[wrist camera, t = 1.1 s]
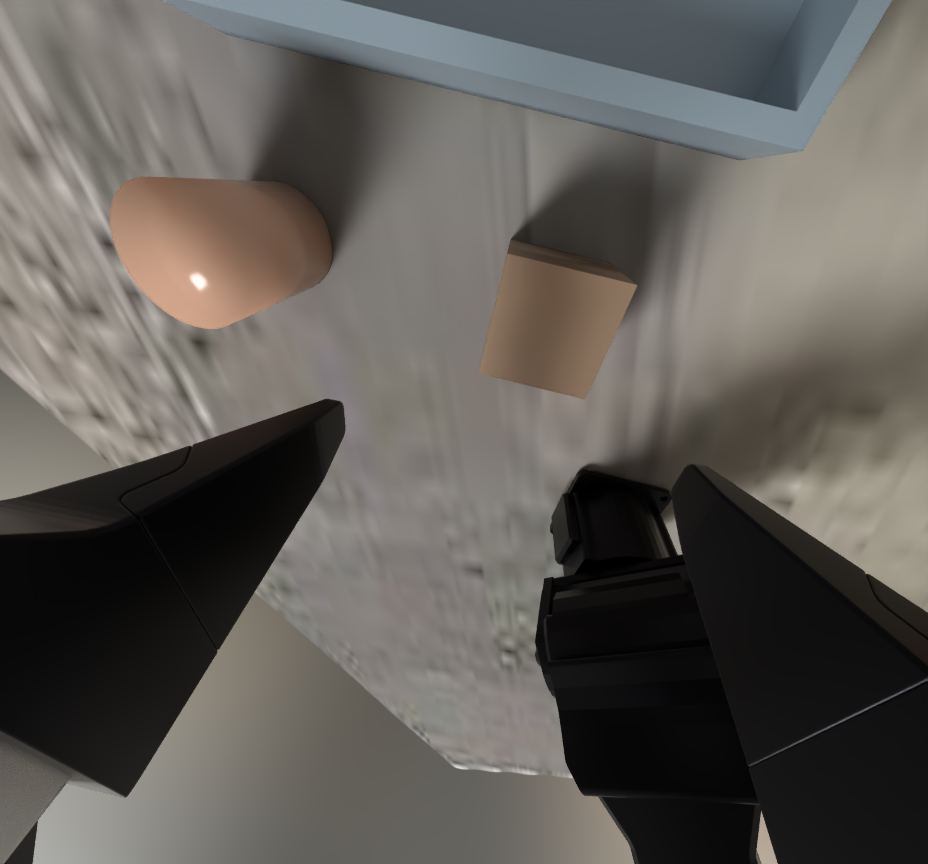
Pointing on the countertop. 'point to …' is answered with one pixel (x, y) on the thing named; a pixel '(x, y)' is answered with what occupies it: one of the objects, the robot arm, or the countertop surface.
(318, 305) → the countertop surface
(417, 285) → the countertop surface
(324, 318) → the countertop surface
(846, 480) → the countertop surface
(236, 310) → the brown egg
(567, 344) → the walnut block
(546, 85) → the tote
